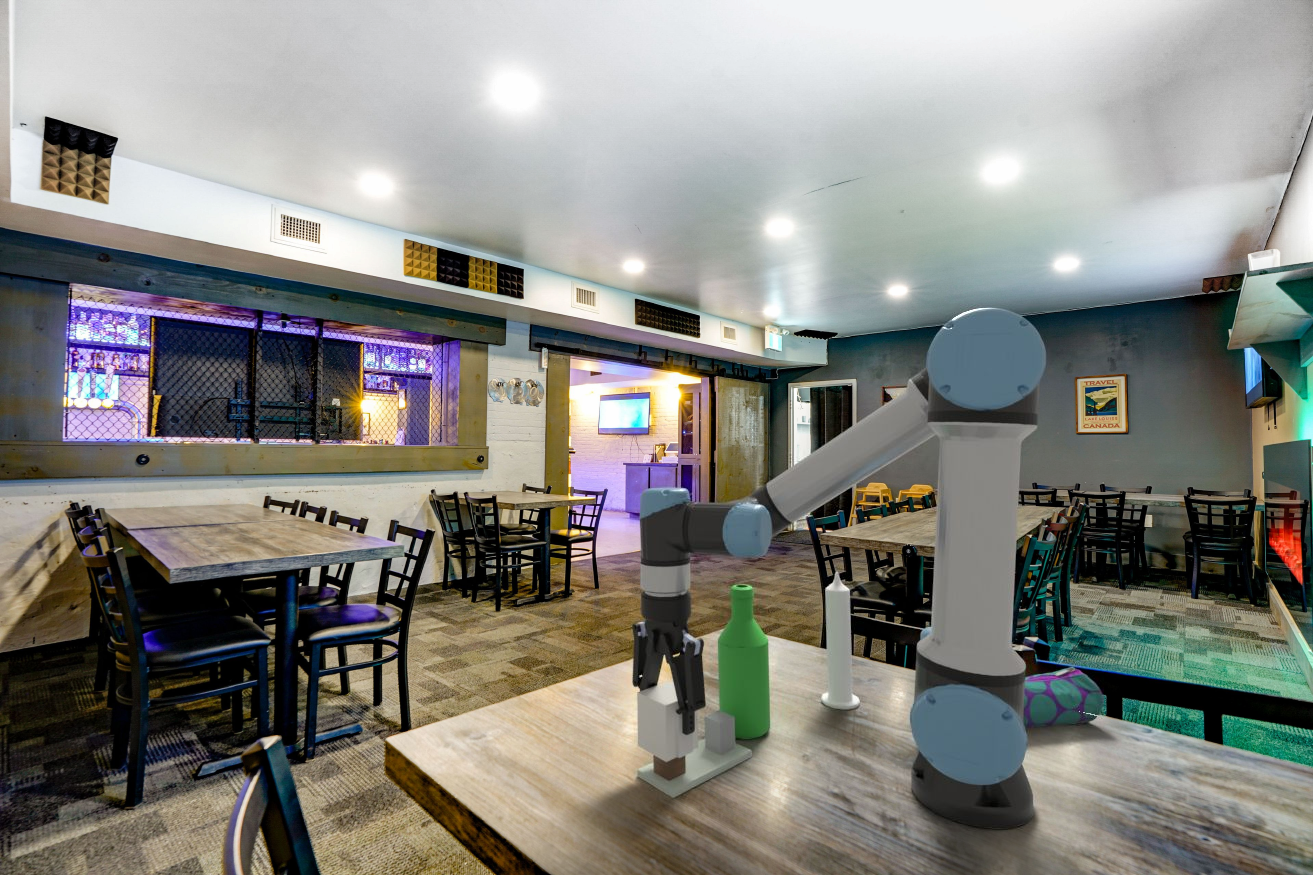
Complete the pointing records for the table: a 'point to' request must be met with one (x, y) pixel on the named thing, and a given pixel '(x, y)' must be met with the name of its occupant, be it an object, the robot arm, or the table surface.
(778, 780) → the table surface
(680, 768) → the tall post
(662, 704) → the white square column
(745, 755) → the rack
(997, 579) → the robot arm
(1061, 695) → the pencil case
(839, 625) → the candle
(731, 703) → the bottle
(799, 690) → the table surface
